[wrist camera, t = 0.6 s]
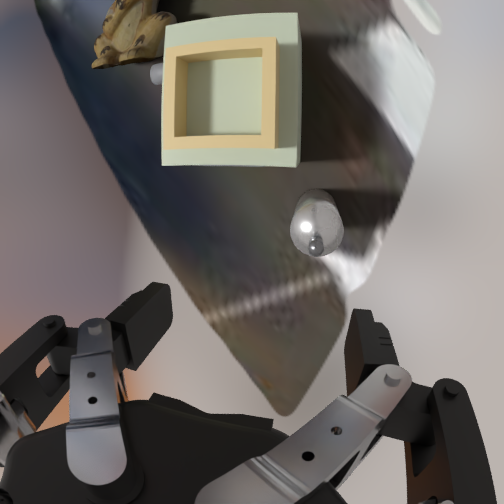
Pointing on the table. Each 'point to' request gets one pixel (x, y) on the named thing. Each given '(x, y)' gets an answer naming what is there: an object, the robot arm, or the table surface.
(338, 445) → the robot arm
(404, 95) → the table surface
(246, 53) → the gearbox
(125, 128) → the table surface
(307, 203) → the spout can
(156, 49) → the figurine
